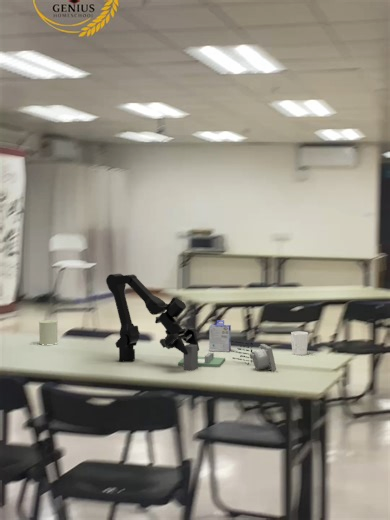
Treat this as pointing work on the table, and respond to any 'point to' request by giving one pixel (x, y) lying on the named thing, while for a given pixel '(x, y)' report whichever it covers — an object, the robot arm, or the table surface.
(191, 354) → the grey square pillar
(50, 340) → the can
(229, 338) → the ink cartridge box
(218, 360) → the board
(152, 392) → the table surface
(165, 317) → the robot arm
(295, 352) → the white cup
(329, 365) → the table surface
